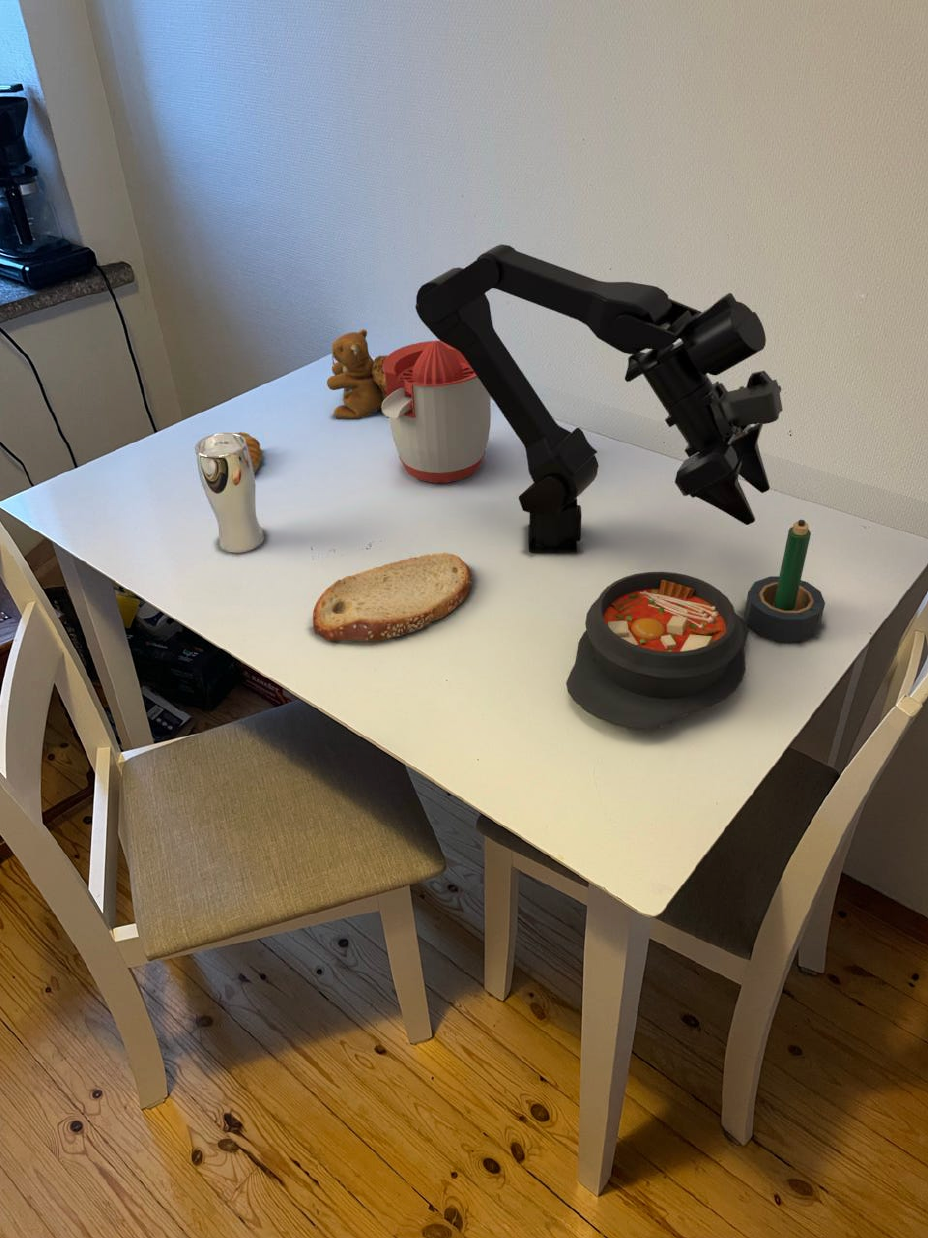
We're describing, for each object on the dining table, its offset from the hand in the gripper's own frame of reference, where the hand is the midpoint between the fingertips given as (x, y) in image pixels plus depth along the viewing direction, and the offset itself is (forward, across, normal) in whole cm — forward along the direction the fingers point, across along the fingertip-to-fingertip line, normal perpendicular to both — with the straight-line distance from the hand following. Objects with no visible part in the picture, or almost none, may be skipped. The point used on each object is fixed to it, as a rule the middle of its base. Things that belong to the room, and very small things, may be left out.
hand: (759, 506), depth 110 cm
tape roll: (+14, -2, +5) cm, 14 cm away
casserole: (+8, -16, +14) cm, 22 cm away
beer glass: (-32, -11, +60) cm, 69 cm away
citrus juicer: (-23, +17, +45) cm, 54 cm away
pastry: (-41, +7, +69) cm, 80 cm away
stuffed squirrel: (-37, +32, +60) cm, 77 cm away
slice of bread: (-14, -16, +40) cm, 45 cm away
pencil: (+14, -2, +5) cm, 14 cm away
